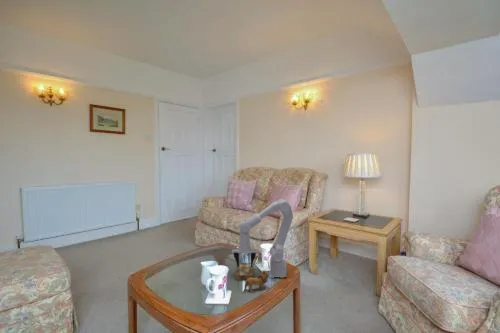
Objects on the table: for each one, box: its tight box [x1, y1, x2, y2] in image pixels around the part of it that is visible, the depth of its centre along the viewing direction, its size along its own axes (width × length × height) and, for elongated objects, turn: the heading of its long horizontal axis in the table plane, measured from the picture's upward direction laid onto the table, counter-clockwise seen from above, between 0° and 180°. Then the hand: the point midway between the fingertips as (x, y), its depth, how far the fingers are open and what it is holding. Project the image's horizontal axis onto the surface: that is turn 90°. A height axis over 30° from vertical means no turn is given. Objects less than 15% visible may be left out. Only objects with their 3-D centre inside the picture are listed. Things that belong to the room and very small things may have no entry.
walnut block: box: [234, 266, 255, 281], centre depth 151 cm, size 10×10×4 cm
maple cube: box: [239, 262, 250, 276], centre depth 147 cm, size 5×5×5 cm
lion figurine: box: [242, 269, 269, 294], centre depth 135 cm, size 15×5×9 cm, turn 118°
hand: (244, 266), depth 150 cm, fingers open, 7 cm apart
